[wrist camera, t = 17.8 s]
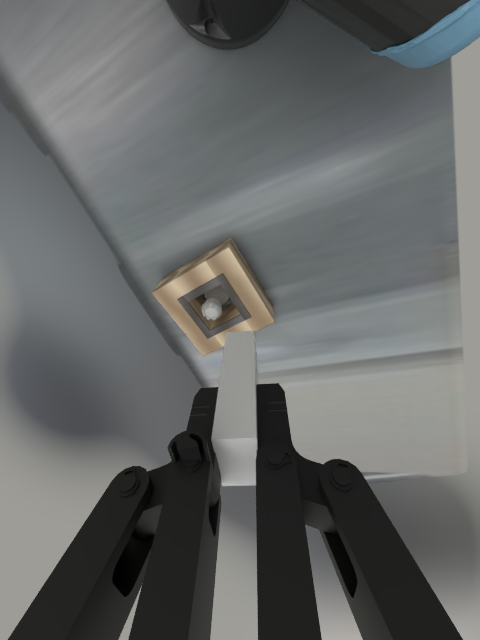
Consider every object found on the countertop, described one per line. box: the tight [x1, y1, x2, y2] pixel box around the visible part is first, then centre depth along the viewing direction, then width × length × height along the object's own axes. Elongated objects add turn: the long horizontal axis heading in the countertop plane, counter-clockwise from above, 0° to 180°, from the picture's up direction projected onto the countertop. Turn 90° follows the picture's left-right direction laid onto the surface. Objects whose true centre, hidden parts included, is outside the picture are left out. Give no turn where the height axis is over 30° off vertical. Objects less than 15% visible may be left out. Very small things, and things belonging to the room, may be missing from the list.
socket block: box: [152, 238, 275, 356], centre depth 46 cm, size 14×14×6 cm
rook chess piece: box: [201, 285, 229, 320], centre depth 45 cm, size 4×4×8 cm
